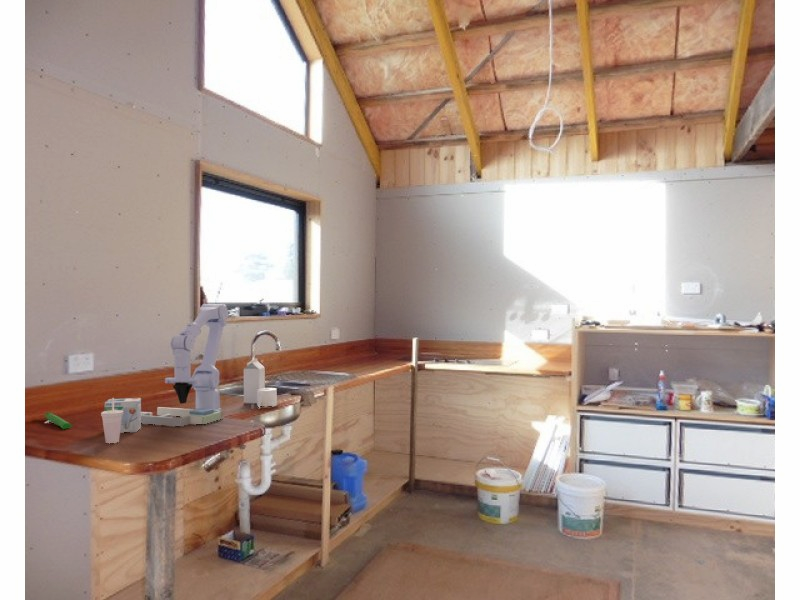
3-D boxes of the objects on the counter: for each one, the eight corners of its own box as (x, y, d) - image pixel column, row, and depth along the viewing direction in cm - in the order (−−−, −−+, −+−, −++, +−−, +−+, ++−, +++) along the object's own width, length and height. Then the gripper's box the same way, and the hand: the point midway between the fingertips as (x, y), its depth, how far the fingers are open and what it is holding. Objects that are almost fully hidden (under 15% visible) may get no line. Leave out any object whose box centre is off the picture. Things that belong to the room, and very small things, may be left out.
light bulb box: (103, 434, 195) (103, 402, 195) (108, 430, 202) (108, 398, 202) (138, 432, 198) (138, 400, 198) (141, 428, 205) (141, 397, 205)
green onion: (73, 431, 205) (46, 415, 225) (73, 421, 204) (46, 406, 225) (57, 433, 201) (32, 417, 222) (57, 424, 201) (32, 408, 221)
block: (201, 420, 219) (201, 408, 219) (213, 421, 216) (213, 409, 216) (189, 423, 213) (189, 410, 213) (201, 424, 211) (201, 412, 211)
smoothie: (127, 439, 187) (126, 396, 187) (118, 444, 181) (117, 399, 181) (106, 440, 187) (106, 396, 187) (97, 445, 181) (96, 400, 181)
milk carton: (265, 401, 258) (264, 358, 258) (259, 403, 251) (259, 359, 251) (249, 400, 259) (249, 358, 259) (243, 403, 252) (243, 359, 252)
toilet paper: (259, 409, 239) (259, 392, 239) (256, 404, 250) (256, 388, 250) (279, 407, 242) (279, 391, 242) (275, 403, 253) (275, 387, 253)
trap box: (159, 414, 228) (159, 406, 228) (222, 419, 219) (222, 410, 219) (128, 422, 213) (128, 413, 213) (195, 428, 204) (195, 418, 204)
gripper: (159, 367, 217) (159, 403, 217) (191, 368, 212) (192, 406, 212) (172, 365, 223) (172, 400, 224) (204, 366, 219) (204, 402, 219)
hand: (182, 403), depth 218 cm, fingers closed
